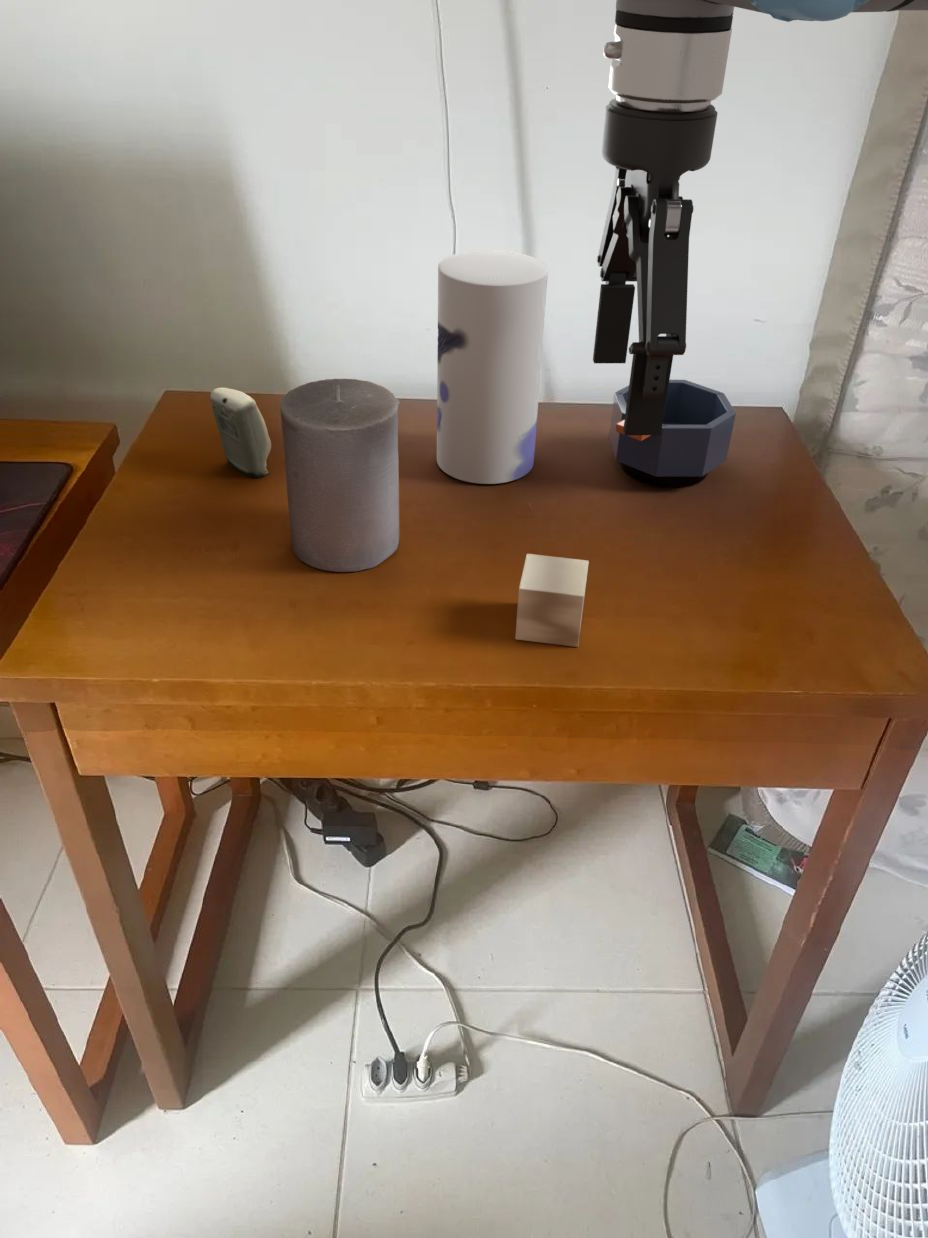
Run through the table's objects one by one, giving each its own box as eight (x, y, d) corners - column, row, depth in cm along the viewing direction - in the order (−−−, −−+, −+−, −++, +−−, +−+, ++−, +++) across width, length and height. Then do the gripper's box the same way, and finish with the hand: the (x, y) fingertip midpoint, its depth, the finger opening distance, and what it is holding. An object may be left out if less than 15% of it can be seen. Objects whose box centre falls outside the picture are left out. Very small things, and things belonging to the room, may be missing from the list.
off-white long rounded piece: (207, 475, 97) (196, 400, 93) (228, 451, 102) (218, 378, 97) (262, 482, 97) (253, 407, 92) (280, 458, 101) (273, 384, 96)
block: (582, 610, 81) (589, 560, 78) (578, 647, 77) (584, 596, 74) (522, 603, 82) (526, 552, 79) (515, 639, 78) (518, 588, 75)
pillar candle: (286, 521, 91) (271, 367, 82) (390, 510, 93) (386, 358, 84) (298, 580, 83) (283, 418, 74) (411, 566, 86) (409, 407, 76)
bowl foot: (725, 470, 101) (728, 457, 100) (668, 497, 96) (670, 484, 95) (659, 438, 106) (661, 425, 105) (601, 462, 102) (603, 449, 101)
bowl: (650, 415, 106) (657, 370, 103) (742, 449, 101) (753, 402, 97) (576, 457, 98) (581, 409, 95) (671, 497, 93) (680, 447, 89)
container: (421, 449, 103) (421, 254, 91) (506, 433, 106) (516, 243, 94) (461, 493, 96) (466, 288, 84) (551, 474, 99) (568, 275, 87)
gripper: (578, 69, 76) (556, 336, 89) (646, 138, 56) (605, 469, 69) (674, 71, 76) (638, 336, 89) (775, 139, 56) (710, 468, 69)
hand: (624, 395), depth 79 cm, fingers open, 13 cm apart
